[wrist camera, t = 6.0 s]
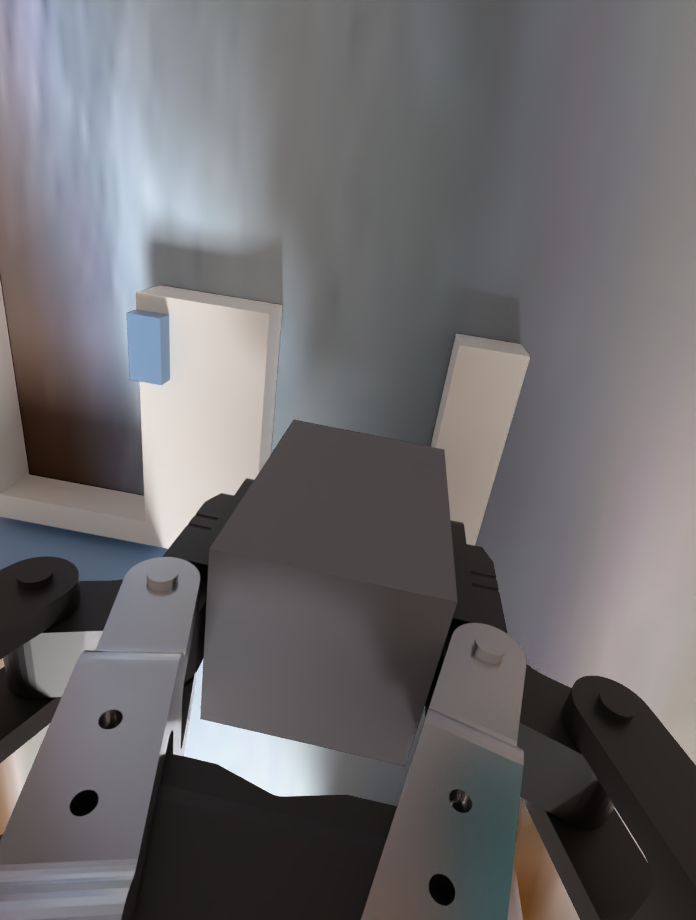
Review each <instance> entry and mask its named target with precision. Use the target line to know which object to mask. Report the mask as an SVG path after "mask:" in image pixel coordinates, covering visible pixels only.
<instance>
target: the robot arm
mask: <svg viewBox="0 0 696 920" xmlns="http://www.w3.org/2000/svg"><path fill="white" fill-rule="evenodd" d="M253 481H254V479H249V478H246V479H245V480H244V482H243V483H242V485H241V486H240V488H239V489H238V491H237V492H236V493H235V495H234V496H233V495H229V494H224V493H220V494H219V495H217V496H215V497H213V498H211V499H209V500H207V501H205V502H204V504H203V505H202V506H201V508H200V509H199V510H198V511H197V513H196V516H194V517H193V518H192V519H191V520H190V522H189V523H188V526H186V527H185V528H184V529H183V531H182V532H181V533H180V535H179V536H178V537H177V538H176V540H175V541H174V542H173V544H172V545H171V546H170V547H169V549H168V550H167V551H166V553H165V554H164V555H163V556H162V557H158V558H152V559H148V560H145V561H143V562H140V563H138V564H137V565H135V566H134V567H132V568H131V569H130V570H129V571H128V572H127V573H126V575H125V577H124V579H121V580H110V581H79V573H78V569H77V567H76V566H75V565H74V564H73V563H72V562H70V561H68V560H66V559H63V558H59V557H49V556H44V557H34V558H29V559H25V560H22V561H19V562H16V563H14V564H12V565H9V566H7V567H5V568H3V569H1V570H0V659H2V658H3V659H4V665H5V667H3V668H2V669H0V763H1V762H2V761H4V760H5V759H6V758H7V757H9V756H10V755H11V754H12V753H13V752H15V751H16V750H17V749H18V748H20V747H21V746H22V745H23V744H25V743H26V742H27V741H28V740H30V739H31V738H32V737H33V736H35V735H36V734H37V733H38V732H39V731H41V730H42V729H43V728H44V727H46V726H47V725H48V724H49V723H50V726H49V728H48V730H47V733H46V735H45V737H44V740H43V742H42V744H41V747H40V749H39V751H38V754H37V756H36V758H35V761H34V763H33V765H32V768H31V770H30V772H29V775H28V777H27V779H26V782H25V784H24V786H23V789H22V791H21V793H20V796H19V798H18V800H17V803H16V805H15V807H14V810H13V812H12V814H11V817H10V819H9V821H8V824H7V826H6V828H5V831H4V833H3V834H2V835H0V920H523V918H522V911H521V904H520V897H519V890H518V883H517V876H516V869H515V862H514V852H515V842H516V832H517V823H518V813H519V803H520V796H521V797H522V798H524V799H525V803H526V807H527V809H528V812H529V814H530V816H531V818H532V820H533V822H534V824H535V826H536V828H537V830H538V832H539V835H540V837H541V839H542V841H543V843H544V845H545V847H546V849H547V851H548V853H549V855H550V858H551V860H552V862H553V864H554V866H555V868H556V870H557V872H558V874H559V876H560V878H561V880H562V883H563V885H564V887H565V889H566V891H567V893H568V895H569V897H570V899H571V901H572V903H573V906H574V908H575V910H576V912H577V914H578V916H579V918H580V920H696V765H695V764H694V763H693V761H692V760H691V759H690V758H689V757H688V755H687V754H686V753H685V752H684V750H683V749H682V748H681V747H680V745H679V744H678V743H677V742H676V740H675V739H674V738H673V737H672V735H671V734H670V733H669V732H668V730H667V729H666V728H665V727H664V725H663V724H662V723H661V722H660V720H659V719H658V718H657V717H656V716H655V714H654V713H653V712H652V711H651V709H650V708H649V707H648V706H647V705H646V703H645V702H644V701H643V700H642V699H641V698H640V697H639V696H637V695H636V694H635V693H634V692H632V691H631V690H630V689H628V688H627V687H625V686H623V685H622V684H620V683H618V682H616V681H613V680H611V679H608V678H604V677H600V676H585V677H582V678H580V679H578V680H577V681H576V682H575V683H574V685H573V687H572V688H570V687H568V686H565V685H563V684H561V683H559V682H557V681H555V680H553V679H550V678H548V677H546V676H544V675H542V674H540V673H539V672H537V671H535V670H534V669H532V668H531V667H530V666H528V665H527V664H526V657H525V654H524V652H523V650H522V648H521V647H520V645H519V644H518V643H517V642H516V641H515V640H514V639H513V638H512V637H511V636H509V635H508V634H507V629H506V624H505V619H504V614H503V609H502V604H501V599H500V594H499V592H498V584H497V580H496V574H495V569H494V564H493V561H492V560H491V559H490V557H489V556H488V555H487V553H486V552H485V551H484V549H483V548H482V547H478V546H474V545H469V544H466V536H465V528H464V523H462V522H457V521H452V520H451V532H452V543H453V555H454V567H455V578H456V590H457V605H456V608H455V611H454V615H453V618H452V621H451V624H450V627H449V630H448V633H447V637H446V640H445V643H444V646H443V649H442V652H441V656H440V659H439V662H438V665H437V668H436V671H435V674H434V678H433V681H432V684H431V687H430V690H429V693H428V696H427V700H426V703H425V721H424V724H423V727H422V730H421V734H420V737H419V740H418V743H417V746H416V749H415V752H414V755H413V758H412V762H411V765H410V768H409V771H408V774H407V777H406V780H405V783H404V786H403V790H402V793H401V796H400V799H399V802H398V805H397V807H396V806H392V805H388V804H384V803H379V802H375V801H371V800H367V799H362V798H358V797H354V796H350V795H323V796H293V797H279V796H275V795H272V794H270V793H268V792H266V791H265V790H263V789H261V788H259V787H257V786H256V785H254V784H252V783H250V782H248V781H246V780H245V779H243V778H241V777H239V776H237V775H235V774H234V773H232V772H230V771H228V770H226V769H225V768H223V767H221V766H219V765H217V764H214V763H209V762H205V761H201V760H197V759H192V758H188V757H184V756H183V755H184V749H185V743H186V737H187V731H188V725H189V719H190V713H191V707H192V701H193V695H194V689H195V683H196V671H197V670H198V668H199V666H200V664H201V662H202V660H203V658H204V641H205V622H206V603H207V583H208V564H209V549H210V547H211V546H212V544H213V542H214V541H215V539H216V538H217V536H218V535H219V533H220V532H221V530H222V529H223V527H224V526H225V524H226V523H227V521H228V520H229V518H230V516H231V515H232V513H233V512H234V510H235V509H236V507H237V506H238V504H239V503H240V501H241V500H242V498H243V497H244V495H245V494H246V492H247V490H248V489H249V487H250V486H251V484H252V483H253ZM614 807H615V808H616V809H617V811H618V813H619V814H620V816H621V818H622V819H623V821H624V822H625V824H626V826H627V827H628V829H629V830H630V832H631V834H632V835H633V837H634V838H635V840H636V842H637V843H638V845H639V846H640V848H641V850H642V851H643V853H644V855H645V857H646V859H647V861H646V859H645V858H644V856H643V855H642V853H641V851H640V850H639V848H638V846H637V845H636V843H635V842H634V840H633V838H632V837H631V835H630V834H629V832H628V830H627V829H626V827H625V825H624V824H623V822H622V821H621V819H620V817H619V816H618V814H617V813H616V811H615V809H614ZM647 862H648V863H647Z"/></svg>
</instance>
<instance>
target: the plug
mask: <svg viewBox="0 0 696 920" xmlns="http://www.w3.org/2000/svg"><path fill="white" fill-rule="evenodd" d="M456 605H457V590H456V578H455V567H454V555H453V543H452V532H451V520H450V508H449V497H448V485H447V473H446V462H445V450H444V449H439V448H434V447H429V446H424V445H419V444H414V443H409V442H404V441H399V440H394V439H389V438H384V437H379V436H374V435H369V434H363V433H358V432H353V431H348V430H343V429H338V428H333V427H328V426H323V425H318V424H313V423H308V422H303V421H298V420H293V422H292V423H291V425H290V426H289V428H288V429H287V431H286V432H285V434H284V435H283V437H282V438H281V440H280V441H279V443H278V445H277V446H276V448H275V449H274V451H273V452H272V454H271V455H270V457H269V458H268V460H267V461H266V463H265V464H264V466H263V468H262V469H261V471H260V472H259V474H258V475H257V477H256V478H255V480H254V481H253V483H252V484H251V486H250V487H249V489H248V490H247V492H246V494H245V495H244V497H243V498H242V500H241V501H240V503H239V504H238V506H237V507H236V509H235V510H234V512H233V513H232V515H231V516H230V518H229V520H228V521H227V523H226V524H225V526H224V527H223V529H222V530H221V532H220V533H219V535H218V536H217V538H216V539H215V541H214V542H213V544H212V546H211V547H210V549H209V564H208V583H207V603H206V622H205V641H204V660H203V680H202V699H201V718H200V719H203V720H208V721H212V722H216V723H221V724H225V725H229V726H234V727H238V728H242V729H247V730H251V731H255V732H260V733H264V734H268V735H273V736H277V737H281V738H286V739H290V740H294V741H299V742H303V743H307V744H312V745H316V746H320V747H325V748H329V749H333V750H337V751H342V752H346V753H350V754H355V755H359V756H363V757H368V758H372V759H376V760H381V761H385V762H389V763H394V764H398V765H402V766H406V763H407V759H408V756H409V753H410V750H411V747H412V744H413V741H414V737H415V734H416V731H417V728H418V725H419V722H420V718H421V715H422V712H423V709H424V706H425V703H426V700H427V696H428V693H429V690H430V687H431V684H432V681H433V678H434V674H435V671H436V668H437V665H438V662H439V659H440V656H441V652H442V649H443V646H444V643H445V640H446V637H447V633H448V630H449V627H450V624H451V621H452V618H453V615H454V611H455V608H456Z"/></svg>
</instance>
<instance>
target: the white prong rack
mask: <svg viewBox="0 0 696 920" xmlns="http://www.w3.org/2000/svg"><path fill="white" fill-rule="evenodd" d="M136 307H137V309H136V310H133V311H130V312H127V313H126V315H127V335H128V355H129V376H130V380H134V381H140V405H141V430H142V454H143V479H144V496H142V495H137V494H131V493H126V492H121V491H115V490H110V489H104V488H99V487H94V486H88V485H83V484H77V483H72V482H67V481H61V480H56V479H51V478H45V477H40V476H34V475H29V469H28V463H27V456H26V449H25V442H24V436H23V429H22V422H21V415H20V409H19V402H18V395H17V389H16V382H15V375H14V368H13V362H12V355H11V348H10V342H9V335H8V328H7V321H6V315H5V308H4V301H3V295H2V288H1V281H0V570H1V569H3V568H5V567H7V566H9V565H12V564H14V563H16V562H19V561H22V560H25V559H29V558H34V557H44V556H49V557H59V558H63V559H66V560H68V561H70V562H72V563H73V564H74V565H75V566H76V567H77V569H78V573H79V581H110V580H121V579H124V577H125V575H126V573H127V572H128V571H129V570H130V569H131V568H132V567H134V566H135V565H137V564H138V563H140V562H143V561H145V560H148V559H152V558H158V557H162V556H163V555H164V554H165V553H166V551H167V550H168V549H169V547H170V546H171V545H172V544H173V542H174V541H175V540H176V538H177V537H178V536H179V535H180V533H181V532H182V531H183V529H184V528H185V527H186V526H188V523H189V522H190V520H191V519H192V518H193V517H194V516H196V513H197V511H198V510H199V509H200V508H201V506H202V505H203V504H204V502H205V501H207V500H209V499H211V498H213V497H215V496H217V495H219V494H220V493H224V494H229V495H233V496H234V495H235V493H236V492H237V491H238V489H239V488H240V486H241V485H242V483H243V482H244V480H245V479H246V478H249V479H254V480H255V478H256V477H257V475H258V474H259V472H260V471H261V469H262V468H263V466H264V464H265V463H266V461H267V460H268V458H269V457H270V455H271V446H272V434H273V421H274V408H275V395H276V383H277V370H278V357H279V345H280V332H281V319H282V307H283V305H279V304H272V303H266V302H260V301H254V300H248V299H242V298H236V297H230V296H223V295H217V294H211V293H205V292H199V291H193V290H187V289H180V288H174V287H168V286H162V285H159V286H156V287H152V288H148V289H145V290H141V291H138V292H136ZM529 360H530V356H529V354H528V353H527V352H526V350H525V349H524V348H523V346H522V345H521V344H517V343H511V342H505V341H499V340H493V339H487V338H481V337H475V336H468V335H462V334H456V336H455V340H454V345H453V349H452V354H451V358H450V363H449V367H448V372H447V376H446V380H445V385H444V389H443V394H442V398H441V403H440V407H439V411H438V416H437V420H436V425H435V429H434V434H433V438H432V442H431V447H434V448H439V449H444V450H445V462H446V473H447V485H448V497H449V508H450V520H452V521H457V522H462V523H464V528H465V536H466V544H469V545H474V546H475V544H476V541H477V537H478V534H479V530H480V527H481V524H482V520H483V517H484V513H485V510H486V507H487V503H488V500H489V496H490V493H491V490H492V486H493V483H494V479H495V476H496V473H497V469H498V466H499V462H500V459H501V456H502V452H503V449H504V445H505V442H506V439H507V435H508V432H509V428H510V425H511V421H512V418H513V415H514V411H515V408H516V404H517V401H518V398H519V394H520V391H521V387H522V384H523V381H524V377H525V374H526V370H527V367H528V364H529Z"/></svg>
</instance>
